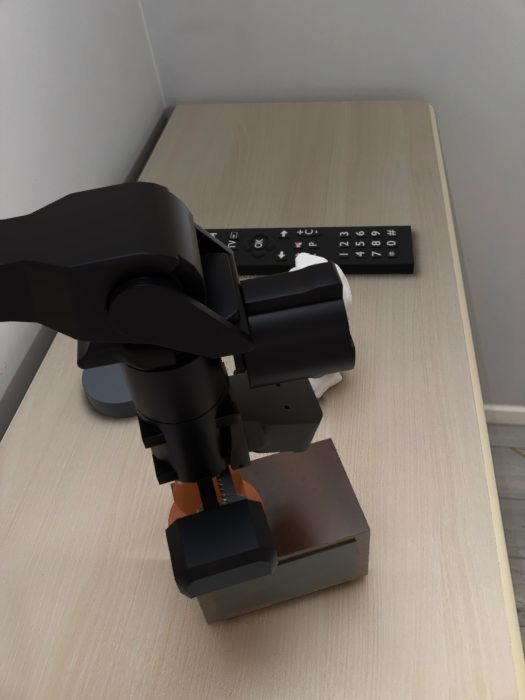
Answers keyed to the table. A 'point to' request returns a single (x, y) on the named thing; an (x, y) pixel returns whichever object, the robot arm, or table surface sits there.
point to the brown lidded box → (300, 530)
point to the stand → (108, 391)
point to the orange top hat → (190, 498)
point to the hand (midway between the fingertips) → (215, 513)
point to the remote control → (320, 248)
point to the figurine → (331, 379)
